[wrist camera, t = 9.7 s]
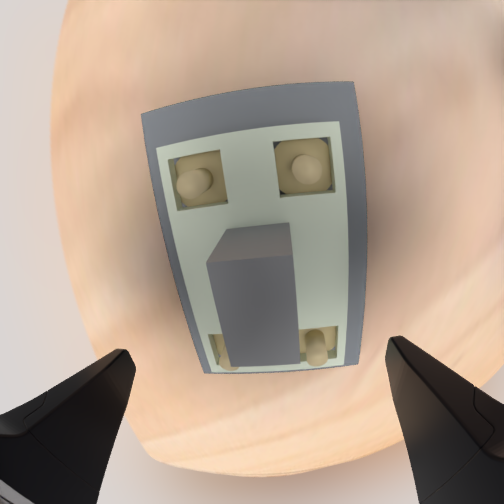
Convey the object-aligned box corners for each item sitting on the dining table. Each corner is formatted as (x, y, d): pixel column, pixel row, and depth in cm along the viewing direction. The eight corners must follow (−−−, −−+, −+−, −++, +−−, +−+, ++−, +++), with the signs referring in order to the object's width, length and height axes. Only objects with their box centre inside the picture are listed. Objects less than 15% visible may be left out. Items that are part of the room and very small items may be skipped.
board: (335, 122, 12) (365, 110, 7) (342, 356, 17) (353, 413, 12) (162, 147, 13) (110, 152, 8) (214, 364, 18) (198, 418, 13)
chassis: (349, 85, 13) (373, 65, 9) (355, 355, 20) (367, 398, 15) (148, 115, 14) (107, 109, 10) (206, 364, 21) (193, 406, 17)
